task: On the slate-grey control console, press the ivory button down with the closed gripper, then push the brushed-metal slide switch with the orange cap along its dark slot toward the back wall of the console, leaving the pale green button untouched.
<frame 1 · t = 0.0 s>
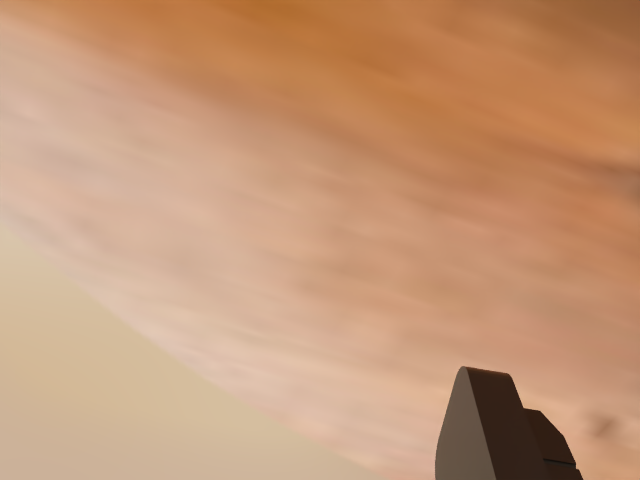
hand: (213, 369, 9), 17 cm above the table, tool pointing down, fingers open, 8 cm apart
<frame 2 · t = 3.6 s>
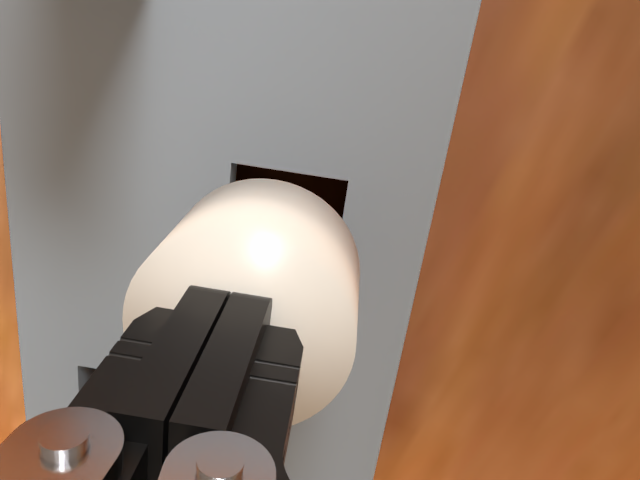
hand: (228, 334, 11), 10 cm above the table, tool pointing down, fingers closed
console: (244, 162, 19), on the table
button ivory: (265, 269, 13), point 7 cm above the table, slide at 0.0 cm, touching gripper
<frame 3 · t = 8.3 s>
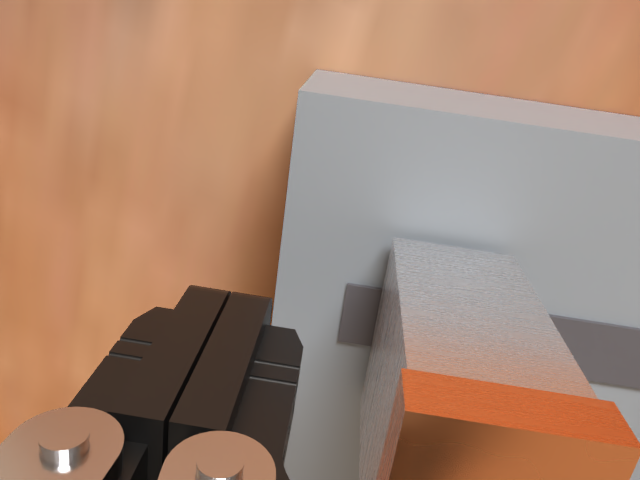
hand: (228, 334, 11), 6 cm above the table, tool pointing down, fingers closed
console: (448, 468, 19), on the table
slider: (448, 417, 9), point 7 cm above the table, slide at 0.4 cm, touching gripper
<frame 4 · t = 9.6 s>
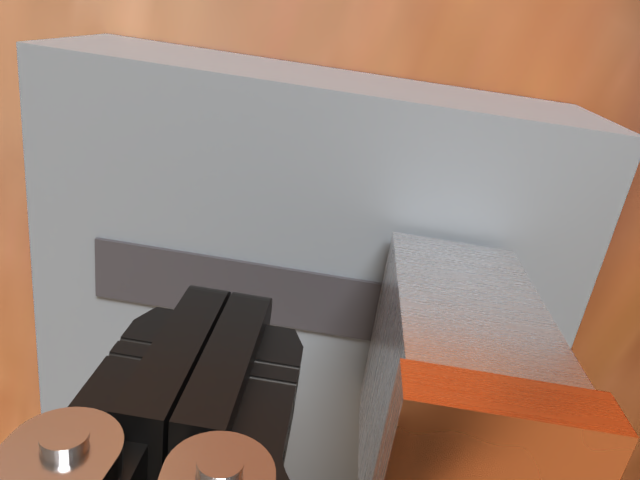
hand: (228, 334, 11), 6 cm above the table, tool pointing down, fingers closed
console: (285, 438, 19), on the table
slider: (447, 410, 10), point 7 cm above the table, slide at 5.9 cm, touching gripper
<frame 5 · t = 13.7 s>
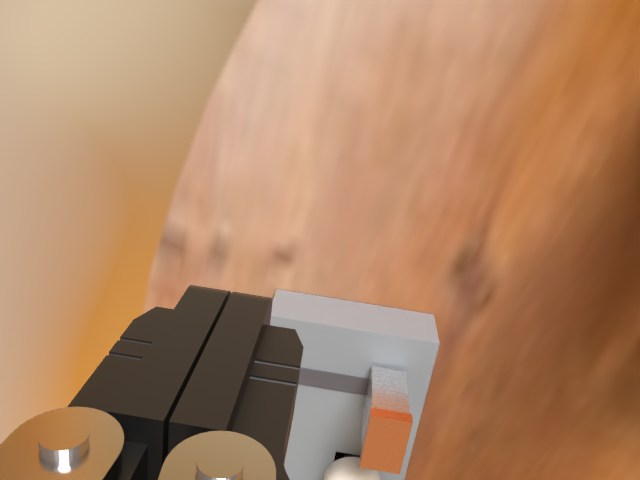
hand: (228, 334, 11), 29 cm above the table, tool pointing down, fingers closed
console: (331, 426, 47), on the table
slider: (384, 416, 38), point 7 cm above the table, slide at 5.9 cm
button ivory: (352, 479, 43), point 5 cm above the table, slide at 1.9 cm
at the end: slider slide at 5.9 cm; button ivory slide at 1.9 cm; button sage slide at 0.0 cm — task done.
